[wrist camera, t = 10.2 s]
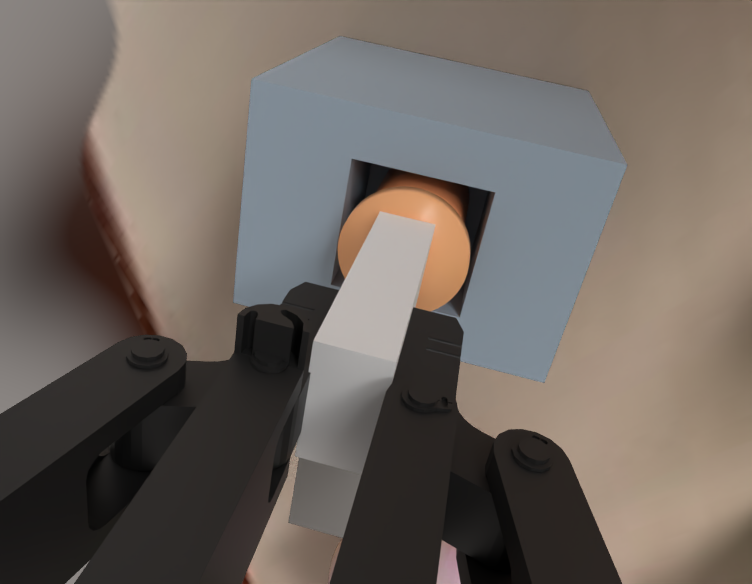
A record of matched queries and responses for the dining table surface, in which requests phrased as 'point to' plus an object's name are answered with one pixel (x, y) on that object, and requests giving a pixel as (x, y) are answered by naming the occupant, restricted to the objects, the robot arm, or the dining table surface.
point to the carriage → (323, 497)
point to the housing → (437, 160)
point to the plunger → (425, 204)
